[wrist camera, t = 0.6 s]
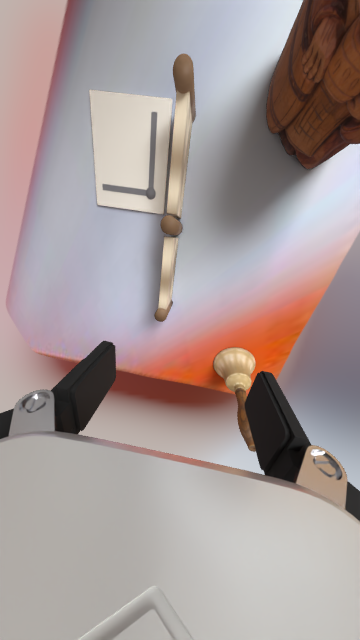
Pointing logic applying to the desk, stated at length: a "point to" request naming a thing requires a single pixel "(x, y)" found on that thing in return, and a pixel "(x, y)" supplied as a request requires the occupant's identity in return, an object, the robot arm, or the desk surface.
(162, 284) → the fence panel
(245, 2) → the desk surface
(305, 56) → the wooden figurine
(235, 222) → the desk surface
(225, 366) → the hand bell
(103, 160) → the card
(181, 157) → the fence fixed
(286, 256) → the desk surface
